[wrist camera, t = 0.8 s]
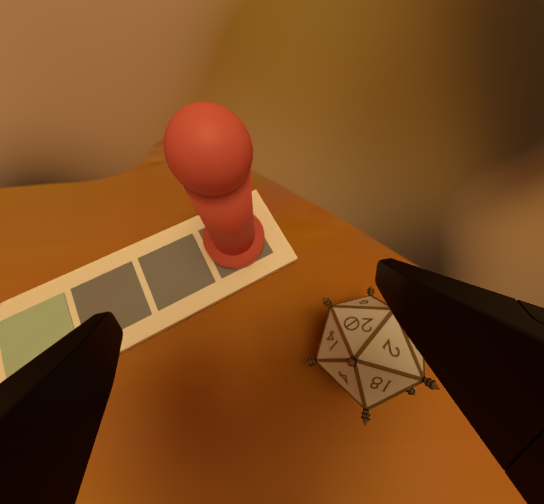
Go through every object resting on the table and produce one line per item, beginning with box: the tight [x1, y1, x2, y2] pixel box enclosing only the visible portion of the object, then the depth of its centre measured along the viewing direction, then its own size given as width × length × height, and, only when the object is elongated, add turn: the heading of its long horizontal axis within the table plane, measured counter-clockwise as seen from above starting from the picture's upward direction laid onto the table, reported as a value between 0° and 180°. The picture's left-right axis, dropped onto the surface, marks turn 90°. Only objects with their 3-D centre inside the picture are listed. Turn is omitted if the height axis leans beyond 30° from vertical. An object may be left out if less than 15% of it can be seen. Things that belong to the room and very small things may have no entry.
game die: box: [304, 287, 440, 425], centre depth 18 cm, size 9×8×10 cm
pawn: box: [163, 102, 265, 269], centre depth 17 cm, size 6×6×14 cm
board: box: [0, 190, 298, 383], centre depth 22 cm, size 27×9×1 cm, turn 119°
